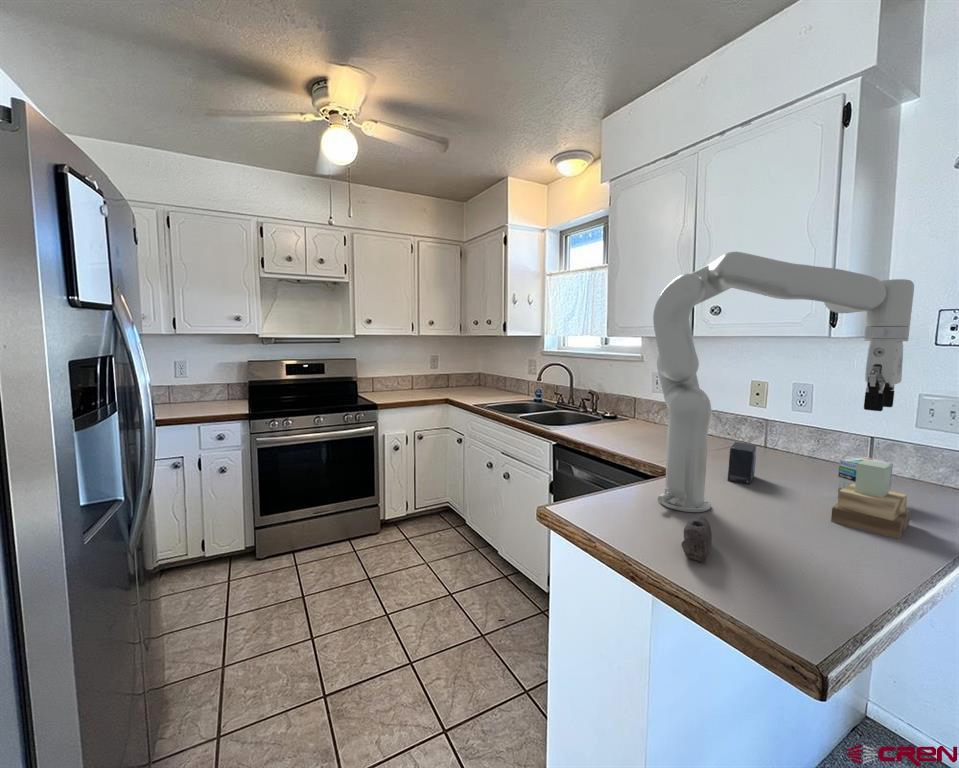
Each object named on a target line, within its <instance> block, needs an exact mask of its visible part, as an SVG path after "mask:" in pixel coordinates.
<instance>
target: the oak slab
mask: <svg viewBox="0 0 959 768" xmlns="http://www.w3.org/2000/svg"><path fill="white" fill-rule="evenodd" d="M907 500H908V494H906V493H901V492H897V491H893V490H890V491H889V494H887V495H886V496H884V497H883V498H880V497H876V496H871V495H867V494H862V493H858V492H855V483H853V484H851V485H849V486H847V487H845V488H843V489H841V490H839V495H838V497H837V503H838V507H840V508H844V509H848V510H852V511H856V512H860V513H864V514H867V515H871V516H875V517H879V518H883V519H887V520H891V521H893V520H894V519H896V518H897V517H898V516H900V515H901V514H902V513H904V512H905V511H906V510H907Z"/></svg>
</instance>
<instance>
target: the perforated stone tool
mask: <svg viewBox="0 0 959 768" xmlns="http://www.w3.org/2000/svg"><path fill="white" fill-rule="evenodd" d="M712 536H713V535H712V528H711V525H710V522H709V521H708V519H707V517H705V516H703V515H696V516H694V517H692V518H690V519H689V520H688V521H687V523H685V526H684V529H683V541H682V542H681V547H682V550H683V552H684V555H685V556H686V557H687V558H689V559H690V560H694V561H696V562H697V561H698V562H699V563H702V562H704V561H706V559H707V558H708V555H709V553H710V550H711V546H712Z"/></svg>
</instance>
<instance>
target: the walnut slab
mask: <svg viewBox="0 0 959 768" xmlns="http://www.w3.org/2000/svg"><path fill="white" fill-rule="evenodd" d="M910 512H911V511H910V509H906V511H905V512H904V513H902V514H901V515H900V516H898V517H897V518H896V519H894V520H893V521H891V520H887V519H883V518H879V517H875V516H871V515H867V514H864V513H860V512H856V511H852V510H848V509H844V508H840V507H838V502H837V503H836V504H834V505H833V506H832V508H831V516H830V517H831V518H830V523H831V522H832V523H836V524H839V525H843V526H848V527H851V528H855V529H859V530H861V531H862V530H863V531H867V532H870V533H874V534H878V535H882V536H886V537H889V538H892V539H896V540H900V538H901V536H902V535H903V533H904V532H905V531H906V529H907V528H908V526H909V522H910Z"/></svg>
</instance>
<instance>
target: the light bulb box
mask: <svg viewBox="0 0 959 768" xmlns="http://www.w3.org/2000/svg"><path fill="white" fill-rule="evenodd" d="M863 460H868V461H873V462H879V463H885V464H891V474H890V484H889V491H891V485H892V476H893V467H894V463H892V462H888V461H885V460H879V459H876V458H873V457H868V456H864V457H855V458H854V457H852V458H847V459H846V458H843V459H839V464H838V465H839V466H838V475H837V477H838V478H837V488H836V498H838V495H839V490H841V489H843V488H845V487H847V486H849V485H851V484H853V483H856V471H857V463H859V462H861V461H863Z"/></svg>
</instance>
